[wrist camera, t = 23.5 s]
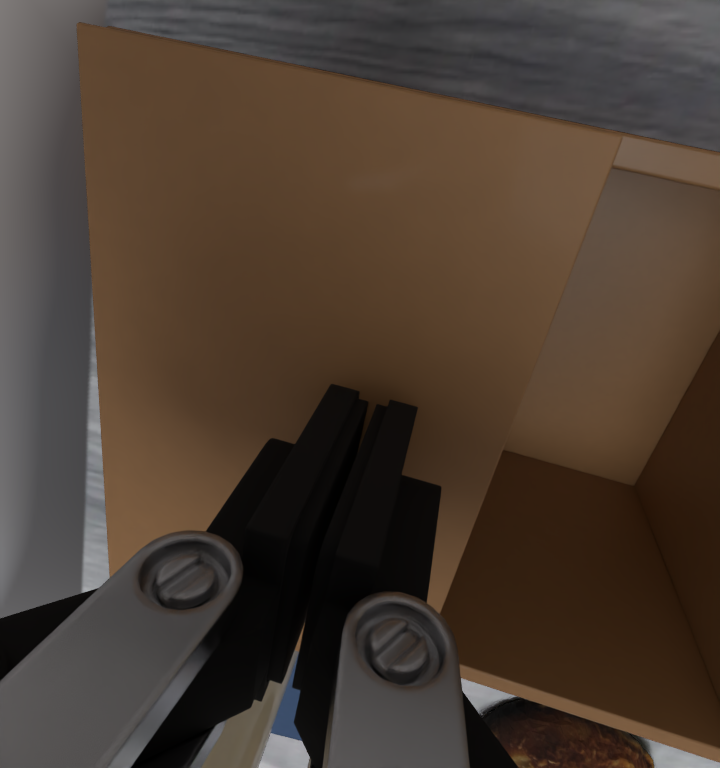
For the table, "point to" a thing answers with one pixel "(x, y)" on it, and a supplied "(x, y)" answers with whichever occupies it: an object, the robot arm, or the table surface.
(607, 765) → the bread roll
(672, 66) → the table surface
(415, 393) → the flap
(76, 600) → the robot arm
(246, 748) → the beige cylinder rod
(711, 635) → the carton
